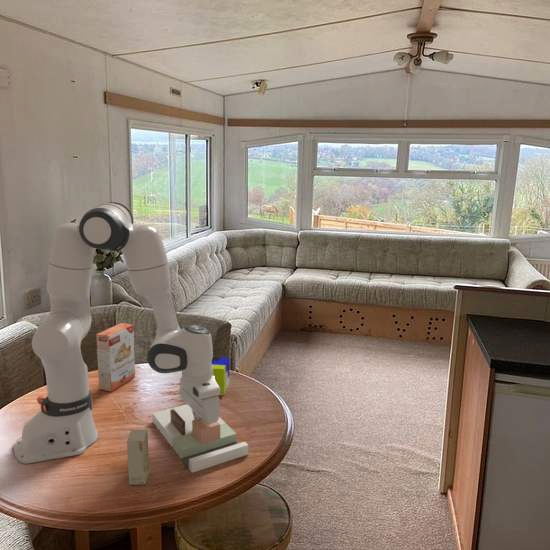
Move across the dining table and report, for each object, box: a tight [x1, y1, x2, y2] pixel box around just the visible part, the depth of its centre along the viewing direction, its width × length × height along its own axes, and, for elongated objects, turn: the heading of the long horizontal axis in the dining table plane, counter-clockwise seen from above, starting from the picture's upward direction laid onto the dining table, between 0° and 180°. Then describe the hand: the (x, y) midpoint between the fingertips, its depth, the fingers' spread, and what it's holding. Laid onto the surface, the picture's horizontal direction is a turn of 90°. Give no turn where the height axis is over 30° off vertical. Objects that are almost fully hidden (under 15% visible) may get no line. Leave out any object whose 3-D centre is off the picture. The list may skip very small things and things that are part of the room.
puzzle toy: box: [212, 356, 230, 395], centre depth 186 cm, size 10×10×10 cm
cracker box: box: [96, 322, 136, 393], centre depth 188 cm, size 14×6×21 cm, turn 159°
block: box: [192, 418, 220, 444], centre depth 149 cm, size 6×6×4 cm
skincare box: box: [126, 429, 150, 486], centre depth 134 cm, size 6×4×12 cm
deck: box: [151, 403, 249, 474], centre depth 155 cm, size 17×31×3 cm, turn 32°
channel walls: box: [170, 409, 185, 435], centre depth 156 cm, size 11×9×4 cm
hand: (198, 423), depth 154 cm, fingers closed
